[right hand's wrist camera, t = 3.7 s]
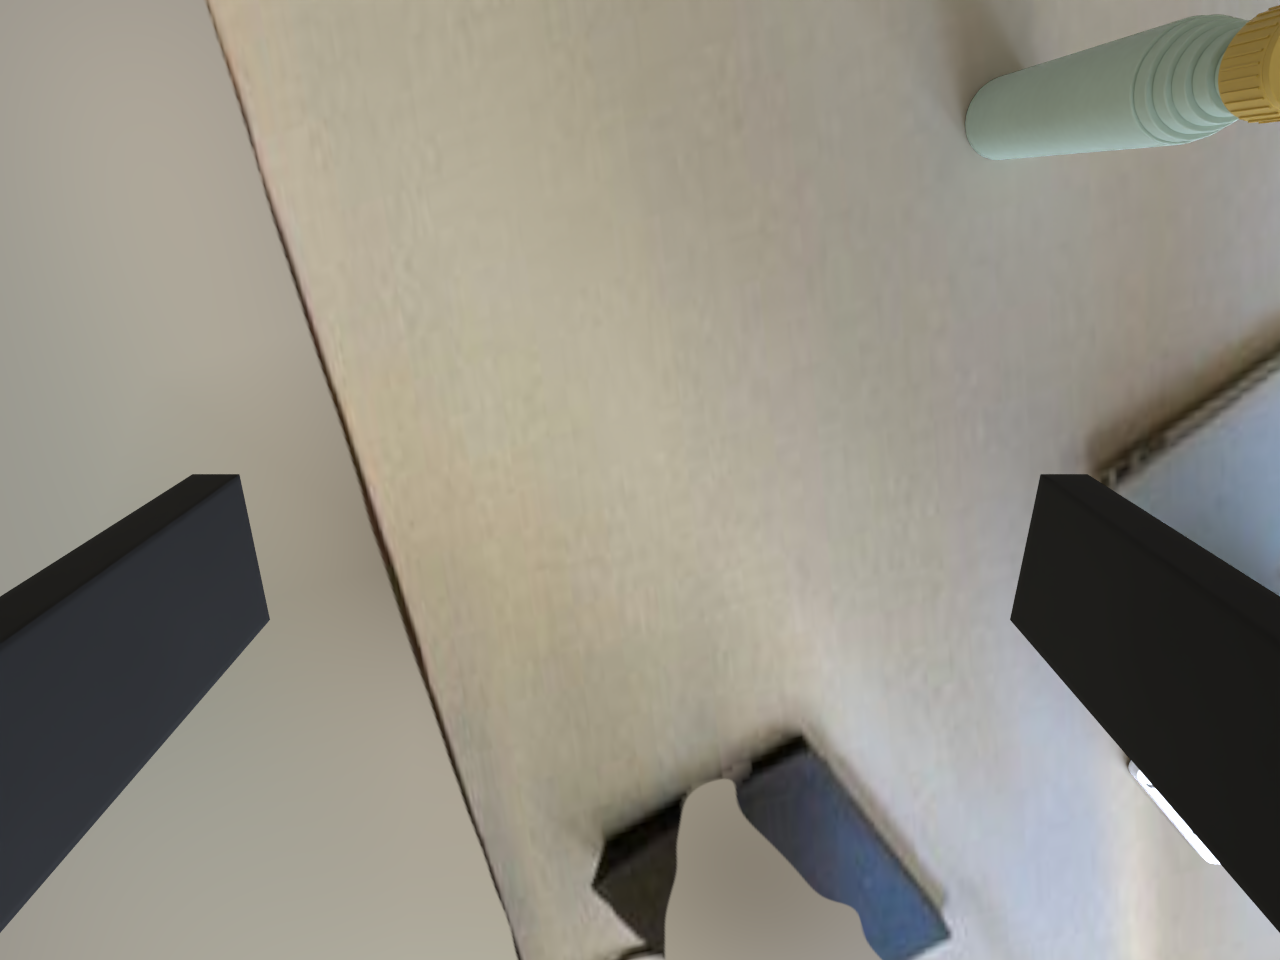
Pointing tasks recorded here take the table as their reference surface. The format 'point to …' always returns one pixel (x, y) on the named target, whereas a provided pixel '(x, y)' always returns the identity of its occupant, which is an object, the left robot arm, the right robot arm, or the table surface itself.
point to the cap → (1253, 70)
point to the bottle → (1110, 95)
